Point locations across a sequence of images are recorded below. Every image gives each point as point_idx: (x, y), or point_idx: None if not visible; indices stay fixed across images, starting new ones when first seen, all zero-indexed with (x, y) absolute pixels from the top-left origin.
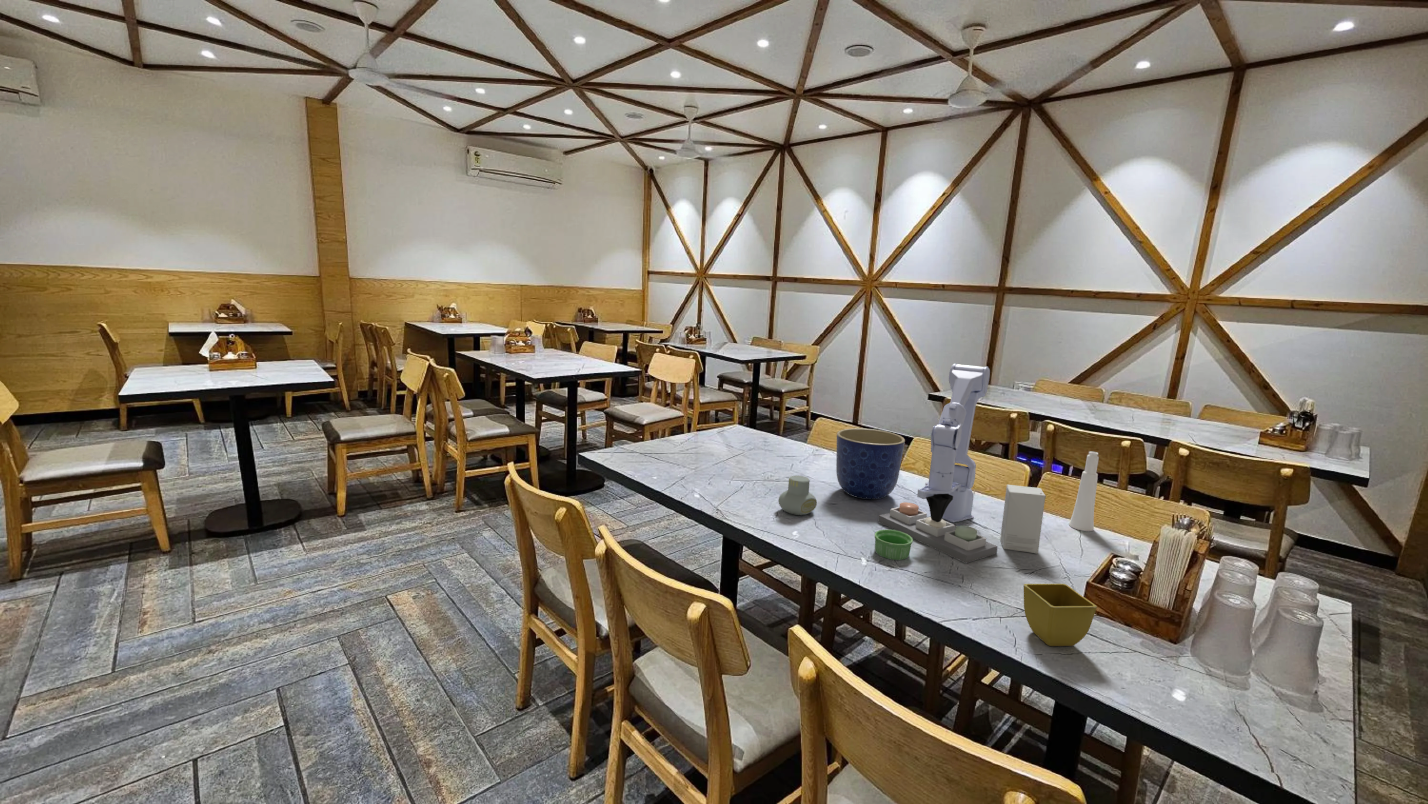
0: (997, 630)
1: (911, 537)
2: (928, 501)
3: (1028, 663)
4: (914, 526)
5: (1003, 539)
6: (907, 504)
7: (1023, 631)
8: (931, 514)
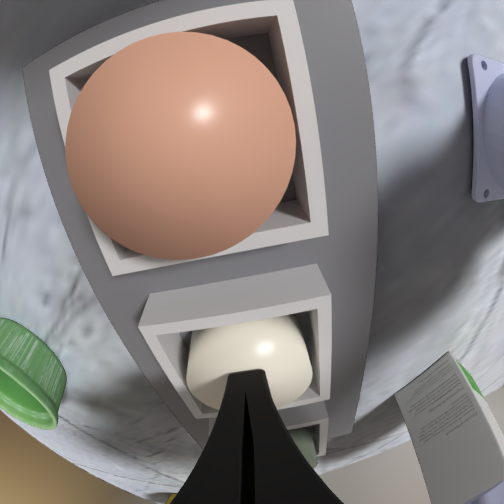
0: (133, 484)
1: (55, 419)
2: (183, 496)
3: (135, 494)
4: (148, 282)
5: (410, 407)
6: (174, 107)
7: (162, 490)
8: (224, 405)
